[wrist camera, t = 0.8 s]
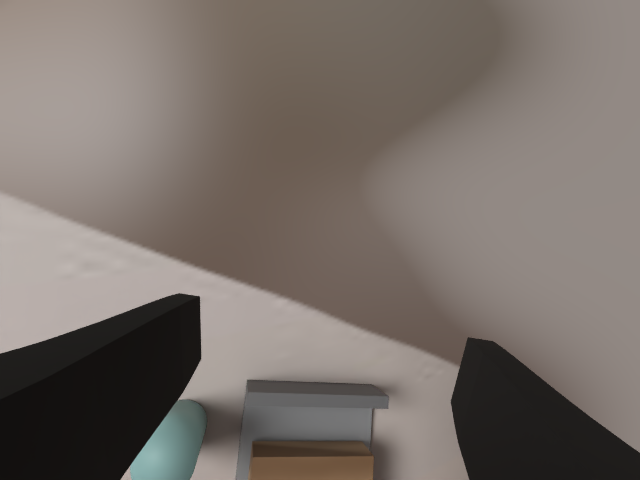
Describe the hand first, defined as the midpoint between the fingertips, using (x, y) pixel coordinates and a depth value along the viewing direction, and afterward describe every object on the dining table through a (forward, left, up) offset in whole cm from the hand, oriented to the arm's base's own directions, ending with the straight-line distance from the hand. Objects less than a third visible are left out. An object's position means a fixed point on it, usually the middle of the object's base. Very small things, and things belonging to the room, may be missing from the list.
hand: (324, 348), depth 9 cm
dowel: (-10, +6, -24) cm, 27 cm away
